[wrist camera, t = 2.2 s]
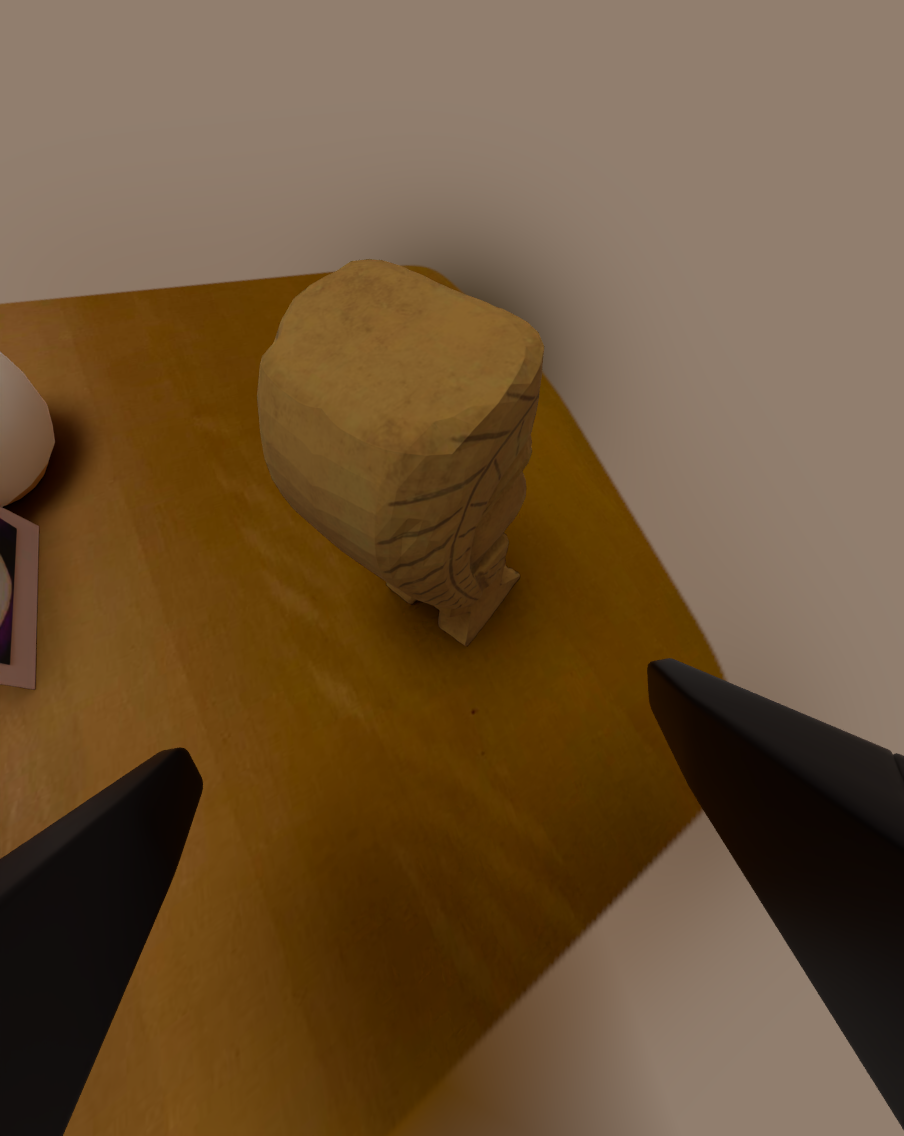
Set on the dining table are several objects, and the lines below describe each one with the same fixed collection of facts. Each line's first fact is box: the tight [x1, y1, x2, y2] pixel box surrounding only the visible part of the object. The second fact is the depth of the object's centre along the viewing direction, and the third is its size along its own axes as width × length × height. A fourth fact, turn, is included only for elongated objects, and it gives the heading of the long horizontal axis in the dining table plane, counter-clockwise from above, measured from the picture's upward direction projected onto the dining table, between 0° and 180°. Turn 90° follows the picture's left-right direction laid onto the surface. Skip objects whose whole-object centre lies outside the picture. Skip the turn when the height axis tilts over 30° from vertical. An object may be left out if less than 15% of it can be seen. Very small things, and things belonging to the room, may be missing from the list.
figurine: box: [257, 259, 544, 646], centre depth 17 cm, size 7×6×15 cm
